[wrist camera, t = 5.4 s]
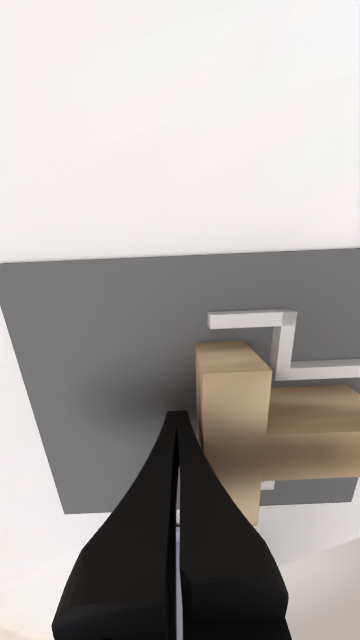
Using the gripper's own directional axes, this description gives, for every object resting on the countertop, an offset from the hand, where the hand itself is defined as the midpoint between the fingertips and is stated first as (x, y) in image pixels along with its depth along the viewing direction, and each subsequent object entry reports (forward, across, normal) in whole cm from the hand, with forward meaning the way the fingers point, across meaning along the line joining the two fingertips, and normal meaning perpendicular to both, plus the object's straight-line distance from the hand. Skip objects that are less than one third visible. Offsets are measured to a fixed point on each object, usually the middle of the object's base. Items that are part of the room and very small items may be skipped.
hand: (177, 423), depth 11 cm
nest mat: (+2, -2, 0) cm, 3 cm away
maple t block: (+1, -6, 0) cm, 6 cm away
